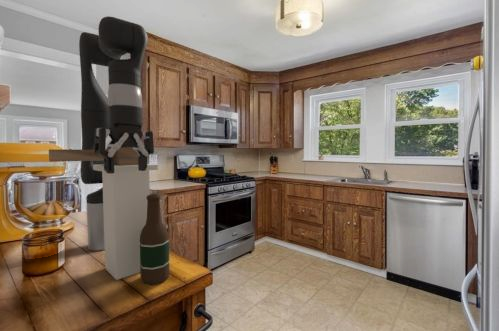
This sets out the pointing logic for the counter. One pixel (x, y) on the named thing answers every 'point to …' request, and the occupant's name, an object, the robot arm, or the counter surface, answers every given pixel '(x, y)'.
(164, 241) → the beer bottle
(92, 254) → the counter surface
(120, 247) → the stand
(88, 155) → the mallet
